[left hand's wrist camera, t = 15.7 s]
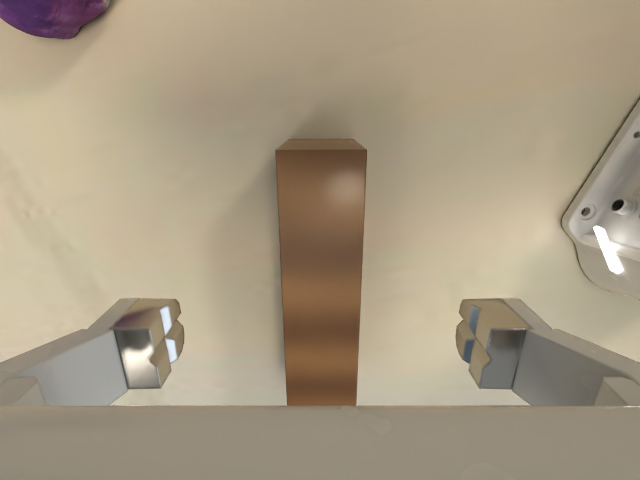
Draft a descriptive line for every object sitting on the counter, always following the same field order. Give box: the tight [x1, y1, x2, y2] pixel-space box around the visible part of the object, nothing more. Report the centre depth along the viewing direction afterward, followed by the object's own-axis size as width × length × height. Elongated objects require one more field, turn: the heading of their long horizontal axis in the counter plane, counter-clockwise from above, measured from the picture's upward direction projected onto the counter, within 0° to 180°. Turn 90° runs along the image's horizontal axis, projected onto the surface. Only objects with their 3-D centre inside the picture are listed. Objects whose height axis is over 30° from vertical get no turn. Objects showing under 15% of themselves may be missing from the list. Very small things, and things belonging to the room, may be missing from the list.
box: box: [276, 139, 367, 406], centre depth 33 cm, size 27×6×10 cm, turn 0°
